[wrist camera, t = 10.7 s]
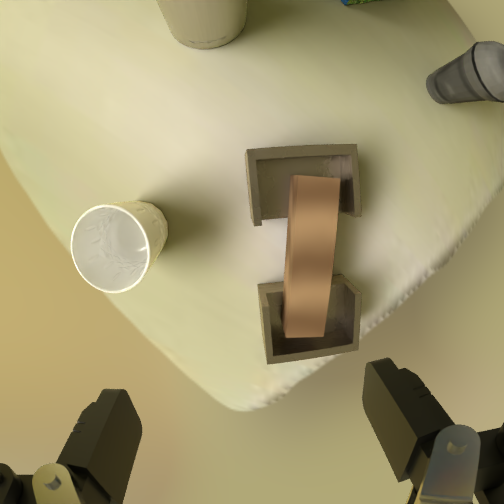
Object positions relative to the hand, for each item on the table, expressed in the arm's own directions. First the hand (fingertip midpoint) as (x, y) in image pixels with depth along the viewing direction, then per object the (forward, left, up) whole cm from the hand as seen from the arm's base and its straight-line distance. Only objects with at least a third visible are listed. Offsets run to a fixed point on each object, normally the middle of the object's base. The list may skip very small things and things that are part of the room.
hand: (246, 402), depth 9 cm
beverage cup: (-18, +29, -27) cm, 43 cm away
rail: (+2, +7, -24) cm, 25 cm away
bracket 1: (-6, +7, -27) cm, 28 cm away
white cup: (-2, -11, -27) cm, 29 cm away
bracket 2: (+9, +7, -27) cm, 29 cm away
